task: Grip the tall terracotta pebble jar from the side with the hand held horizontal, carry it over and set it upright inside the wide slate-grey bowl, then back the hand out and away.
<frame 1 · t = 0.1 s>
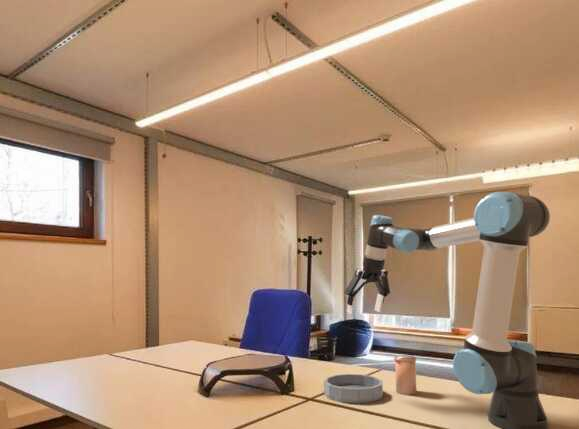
hand: (363, 312, 159), 27 cm above the table, tool tilted 20°, fingers open, 13 cm apart
terracotta jar: (406, 392, 152), on the table
slate bowl: (353, 394, 149), on the table
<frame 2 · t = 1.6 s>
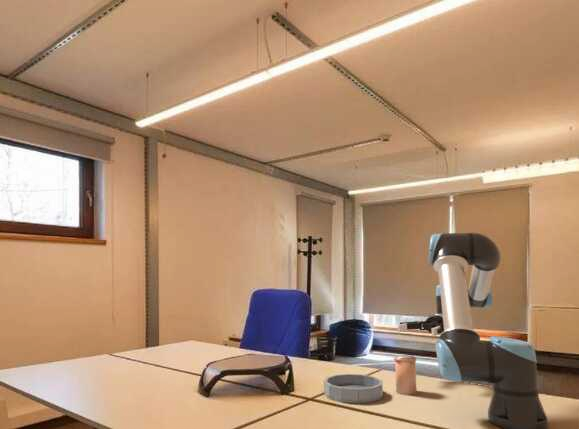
hand: (415, 330, 161), 20 cm above the table, tool horizontal, fingers open, 13 cm apart
nothing on the table moved.
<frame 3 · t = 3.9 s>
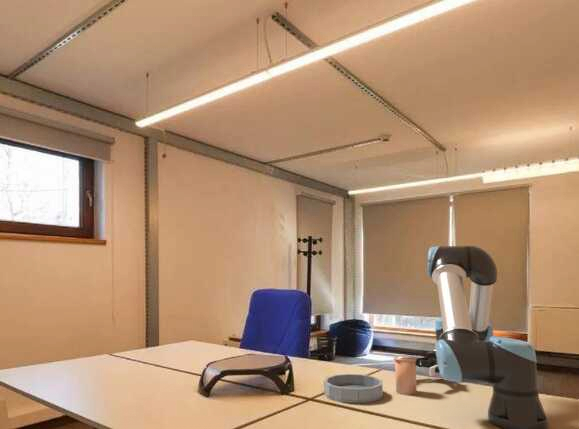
hand: (412, 369, 157), 7 cm above the table, tool horizontal, fingers open, 13 cm apart
nothing on the table moved.
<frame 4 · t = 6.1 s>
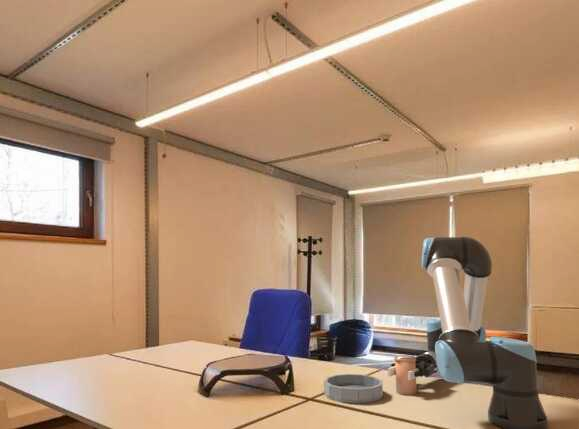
hand: (398, 374, 149), 7 cm above the table, tool horizontal, fingers closed on terracotta jar, 7 cm apart
terracotta jar: (406, 392, 152), on the table, touching gripper
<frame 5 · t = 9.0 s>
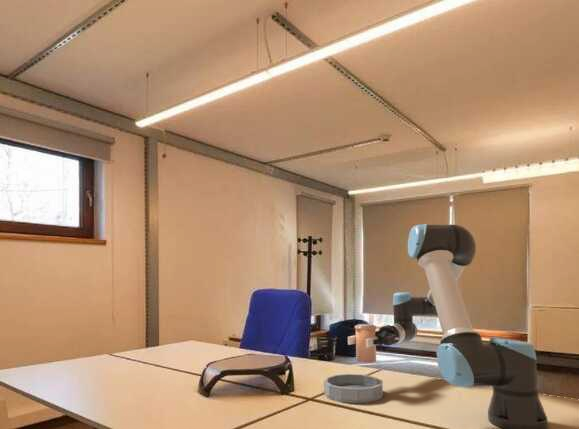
hand: (357, 342, 150), 18 cm above the table, tool horizontal, fingers closed on terracotta jar, 7 cm apart
terracotta jar: (366, 360, 153), point 11 cm above the table, touching gripper
when the fingers open (9 cm above the table, at t = 11.9 s): terracotta jar drops 1 cm, resting on slate bowl.
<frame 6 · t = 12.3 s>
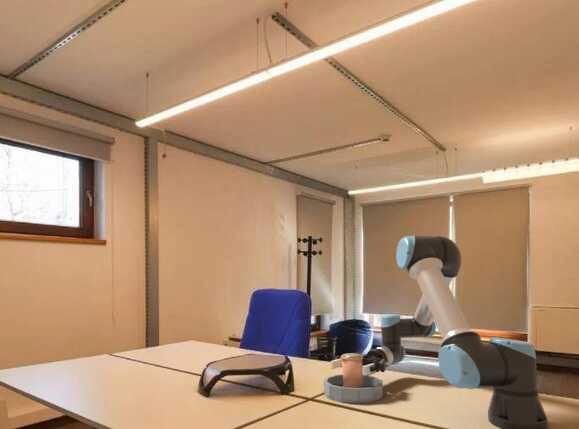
hand: (347, 368, 148), 9 cm above the table, tool horizontal, fingers open, 12 cm apart
terracotta jar: (353, 391, 149), point 1 cm above the table, touching slate bowl
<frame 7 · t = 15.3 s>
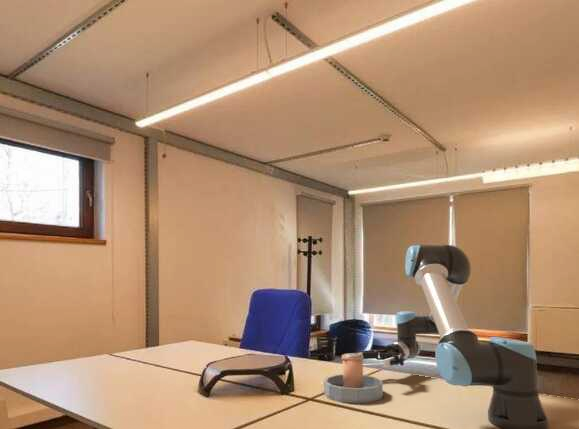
hand: (368, 361, 158), 10 cm above the table, tool horizontal, fingers open, 13 cm apart
nothing on the table moved.
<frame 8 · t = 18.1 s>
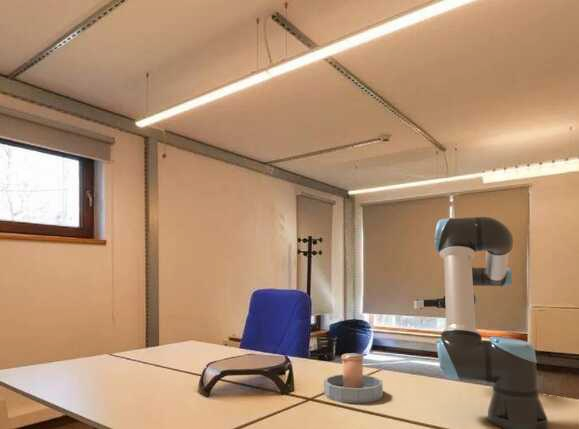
hand: (432, 305, 156), 30 cm above the table, tool horizontal, fingers open, 13 cm apart
nothing on the table moved.
at the end: terracotta jar inside the target area on the slate bowl (0.1 cm from its centre), point 1.0 cm above the slate bowl's base; terracotta jar tilted 0°; the gripper is holding nothing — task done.
